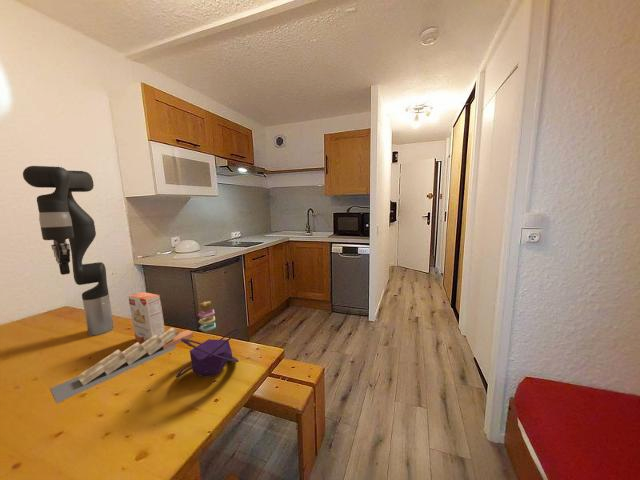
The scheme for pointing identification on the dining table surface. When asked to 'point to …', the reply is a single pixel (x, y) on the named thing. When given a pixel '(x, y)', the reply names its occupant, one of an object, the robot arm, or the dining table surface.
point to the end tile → (178, 339)
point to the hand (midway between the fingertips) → (65, 273)
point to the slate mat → (100, 377)
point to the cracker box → (146, 315)
